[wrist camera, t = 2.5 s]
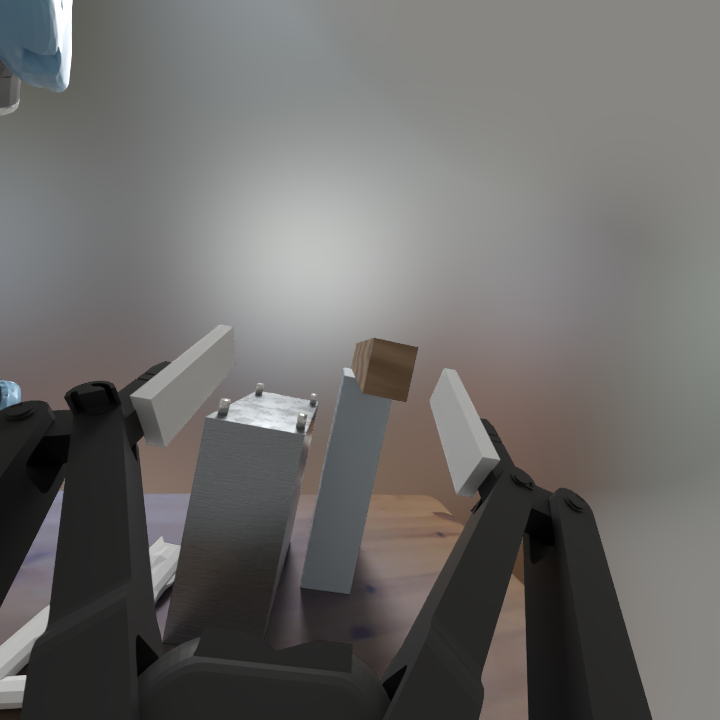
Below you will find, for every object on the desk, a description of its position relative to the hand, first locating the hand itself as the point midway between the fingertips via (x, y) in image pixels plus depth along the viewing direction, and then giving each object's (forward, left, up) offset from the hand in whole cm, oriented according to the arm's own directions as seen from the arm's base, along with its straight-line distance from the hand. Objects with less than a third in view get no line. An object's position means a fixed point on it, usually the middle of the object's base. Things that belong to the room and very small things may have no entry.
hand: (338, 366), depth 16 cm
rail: (+5, +20, -2) cm, 21 cm away
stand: (+5, +25, -32) cm, 41 cm away
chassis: (-7, +18, -32) cm, 38 cm away
